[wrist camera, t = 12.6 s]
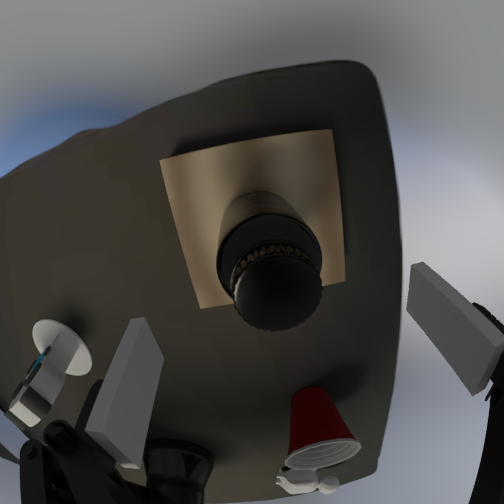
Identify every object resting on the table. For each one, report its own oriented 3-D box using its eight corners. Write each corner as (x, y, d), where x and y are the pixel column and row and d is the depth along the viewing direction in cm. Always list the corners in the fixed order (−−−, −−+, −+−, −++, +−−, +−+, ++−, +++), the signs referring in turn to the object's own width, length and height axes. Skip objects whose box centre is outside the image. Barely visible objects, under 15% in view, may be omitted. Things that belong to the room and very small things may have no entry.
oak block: (204, 289, 32) (200, 308, 29) (169, 157, 27) (159, 160, 23) (333, 264, 32) (345, 281, 29) (319, 129, 26) (331, 129, 23)
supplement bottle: (303, 250, 27) (346, 329, 16) (232, 269, 27) (233, 358, 16) (288, 179, 24) (332, 218, 13) (211, 199, 25) (192, 255, 14)
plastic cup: (268, 416, 43) (276, 476, 32) (284, 375, 39) (297, 444, 28) (327, 415, 44) (343, 469, 33) (350, 375, 40) (375, 436, 29)
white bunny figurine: (281, 467, 58) (338, 475, 54) (272, 493, 51) (332, 502, 47) (284, 454, 55) (345, 463, 51) (274, 483, 48) (339, 493, 43)
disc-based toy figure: (51, 304, 32) (-3, 375, 19) (107, 358, 36) (74, 439, 23) (25, 337, 35) (-17, 398, 21) (73, 381, 39) (43, 448, 25)
